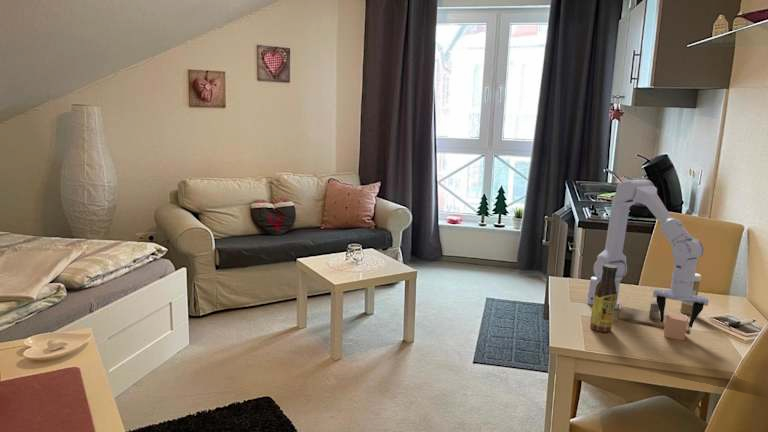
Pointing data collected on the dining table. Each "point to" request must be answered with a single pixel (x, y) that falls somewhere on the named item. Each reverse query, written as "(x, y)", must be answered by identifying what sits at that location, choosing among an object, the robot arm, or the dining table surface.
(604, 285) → the sauce bottle
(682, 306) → the sprinkles bottle
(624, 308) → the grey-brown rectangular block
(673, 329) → the pink block
